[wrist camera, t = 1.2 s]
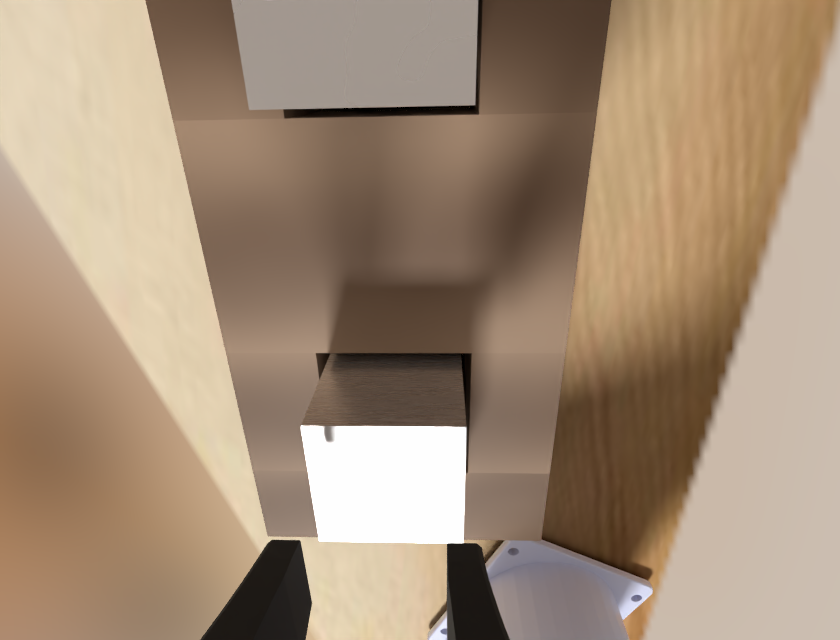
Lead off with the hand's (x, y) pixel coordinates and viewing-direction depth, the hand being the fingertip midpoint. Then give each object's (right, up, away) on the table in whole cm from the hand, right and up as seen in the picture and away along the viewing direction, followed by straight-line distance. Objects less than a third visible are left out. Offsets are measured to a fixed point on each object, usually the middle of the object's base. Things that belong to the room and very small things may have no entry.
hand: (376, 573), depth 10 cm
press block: (0, +9, +6) cm, 11 cm away
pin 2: (0, +3, +6) cm, 6 cm away
